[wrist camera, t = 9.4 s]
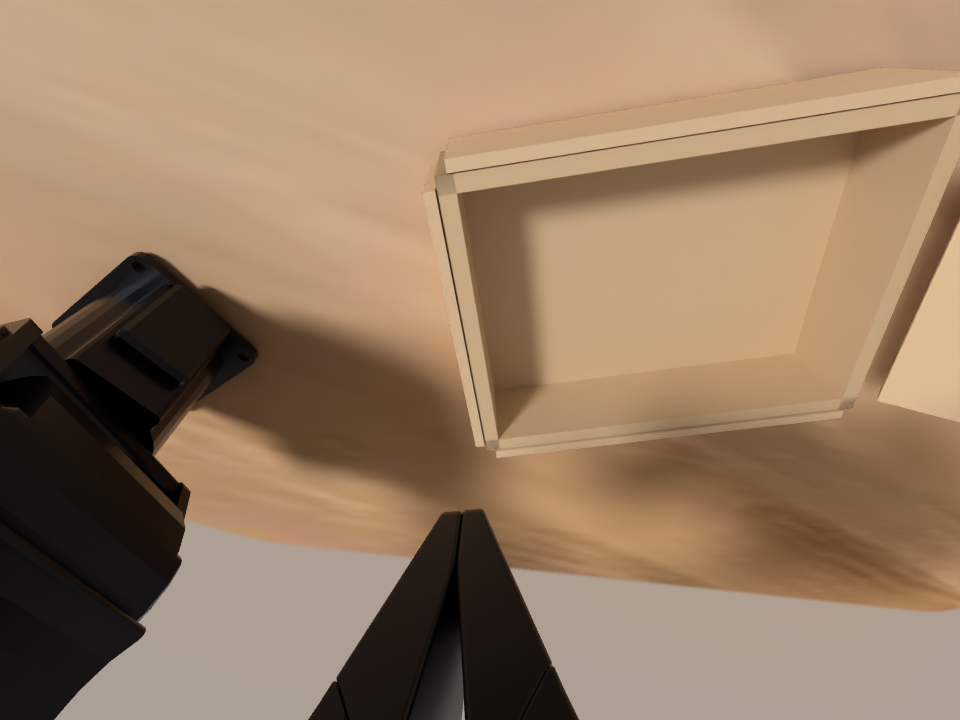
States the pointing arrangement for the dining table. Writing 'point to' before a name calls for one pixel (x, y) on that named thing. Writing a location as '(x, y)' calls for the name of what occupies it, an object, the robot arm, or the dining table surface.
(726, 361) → the beige open tray
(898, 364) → the far flap
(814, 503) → the dining table surface
